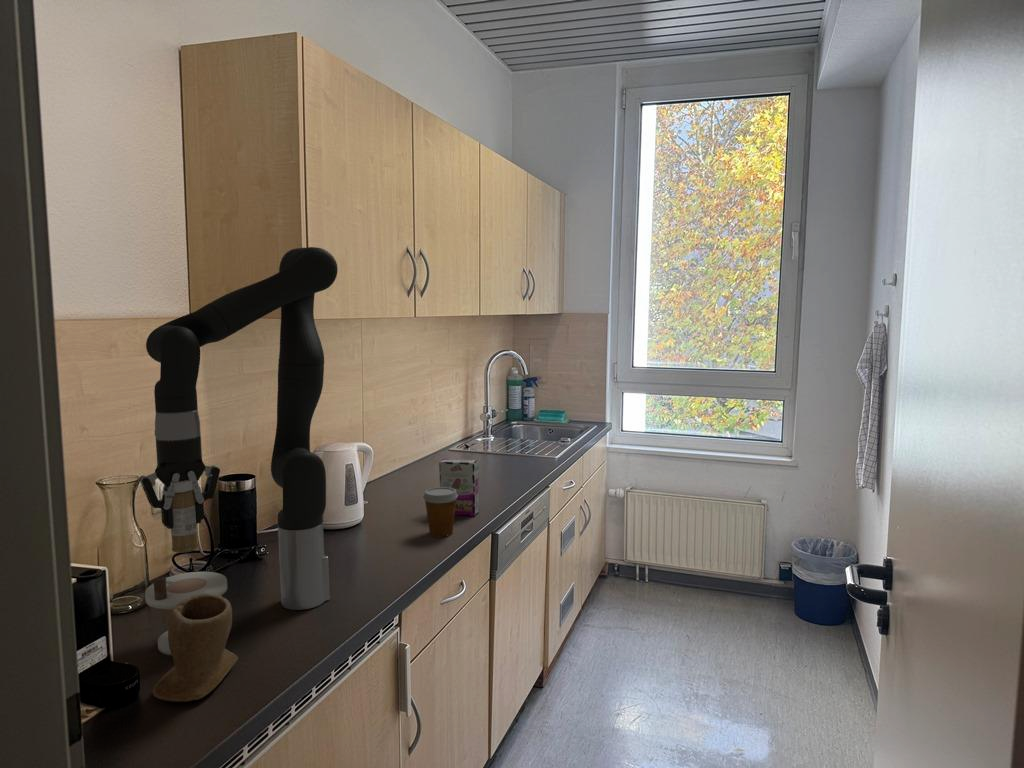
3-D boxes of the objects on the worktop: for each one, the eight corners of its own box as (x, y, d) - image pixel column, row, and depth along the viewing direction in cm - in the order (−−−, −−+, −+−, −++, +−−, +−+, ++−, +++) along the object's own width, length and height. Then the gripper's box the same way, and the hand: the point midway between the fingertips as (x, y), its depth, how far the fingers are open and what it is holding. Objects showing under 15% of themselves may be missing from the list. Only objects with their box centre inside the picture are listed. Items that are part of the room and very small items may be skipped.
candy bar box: (479, 512, 216) (479, 459, 214) (475, 516, 211) (474, 463, 209) (445, 509, 219) (444, 457, 217) (439, 514, 214) (438, 461, 212)
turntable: (187, 575, 142) (186, 551, 142) (243, 584, 137) (241, 559, 137) (127, 602, 129) (125, 576, 129) (186, 614, 124) (185, 586, 124)
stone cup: (213, 710, 112) (208, 619, 110) (142, 706, 113) (136, 616, 111) (257, 661, 127) (253, 581, 125) (194, 658, 128) (189, 579, 126)
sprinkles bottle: (192, 543, 136) (187, 475, 134) (202, 549, 132) (198, 479, 131) (167, 549, 132) (162, 479, 131) (177, 555, 129) (172, 483, 128)
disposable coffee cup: (450, 540, 190) (449, 497, 189) (418, 537, 193) (417, 494, 192) (463, 529, 199) (463, 488, 198) (433, 526, 202) (432, 485, 201)
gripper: (140, 442, 122) (146, 538, 124) (224, 432, 132) (229, 522, 134) (130, 436, 128) (136, 528, 130) (212, 427, 137) (216, 513, 139)
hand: (183, 524), depth 132 cm, fingers closed on sprinkles bottle, 4 cm apart
